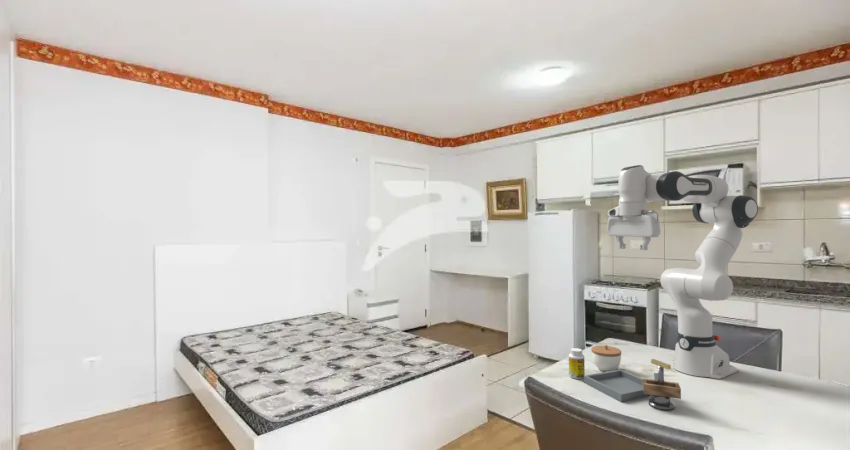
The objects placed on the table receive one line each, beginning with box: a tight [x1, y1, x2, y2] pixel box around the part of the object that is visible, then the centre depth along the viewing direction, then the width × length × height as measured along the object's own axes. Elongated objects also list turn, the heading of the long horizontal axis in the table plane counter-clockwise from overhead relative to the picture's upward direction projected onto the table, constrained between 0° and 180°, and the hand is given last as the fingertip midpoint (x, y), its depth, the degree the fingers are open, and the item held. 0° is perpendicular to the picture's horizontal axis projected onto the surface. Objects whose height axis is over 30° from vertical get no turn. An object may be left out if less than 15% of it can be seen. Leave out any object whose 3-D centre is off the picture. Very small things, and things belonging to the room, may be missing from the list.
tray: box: [583, 369, 652, 403], centre depth 141 cm, size 17×17×2 cm
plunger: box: [648, 358, 675, 412], centre depth 128 cm, size 7×7×14 cm
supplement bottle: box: [568, 347, 586, 380], centre depth 152 cm, size 6×6×10 cm
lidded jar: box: [590, 344, 622, 372], centre depth 159 cm, size 11×11×9 cm
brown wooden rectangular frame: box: [642, 372, 682, 400], centre depth 131 cm, size 10×12×3 cm
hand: (632, 249), depth 146 cm, fingers open, 8 cm apart
